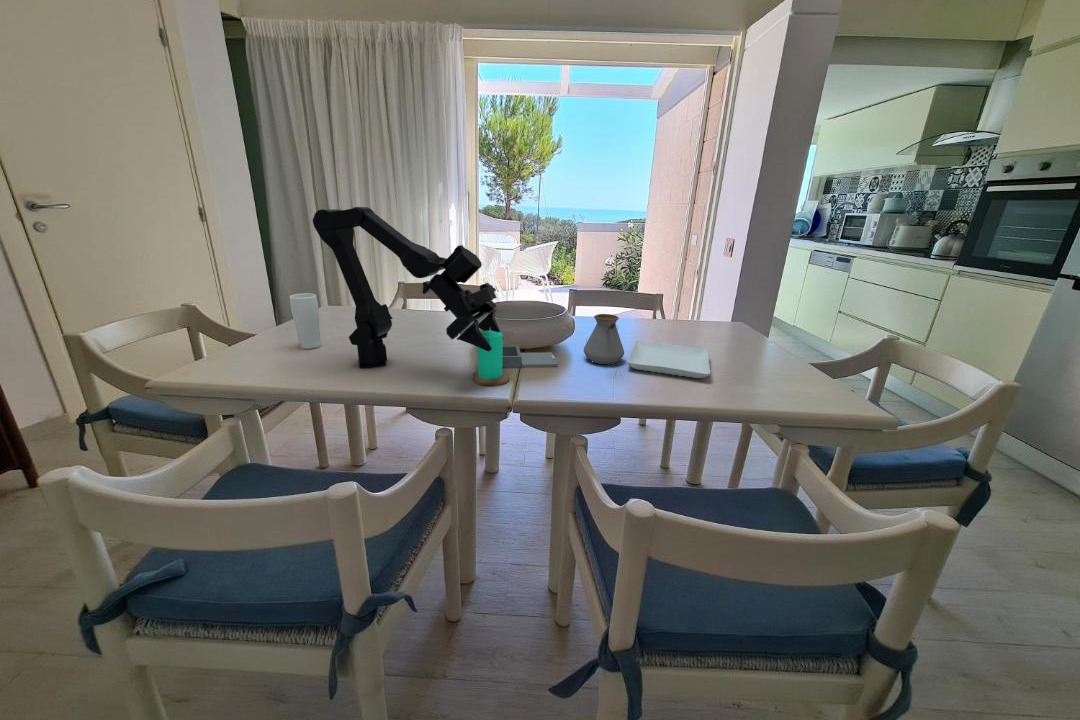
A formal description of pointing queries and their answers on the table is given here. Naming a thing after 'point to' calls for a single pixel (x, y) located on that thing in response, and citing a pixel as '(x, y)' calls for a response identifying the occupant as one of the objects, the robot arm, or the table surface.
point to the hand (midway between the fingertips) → (496, 344)
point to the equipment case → (526, 358)
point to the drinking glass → (306, 319)
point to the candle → (491, 356)
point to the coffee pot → (604, 341)
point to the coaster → (491, 382)
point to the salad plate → (670, 359)
